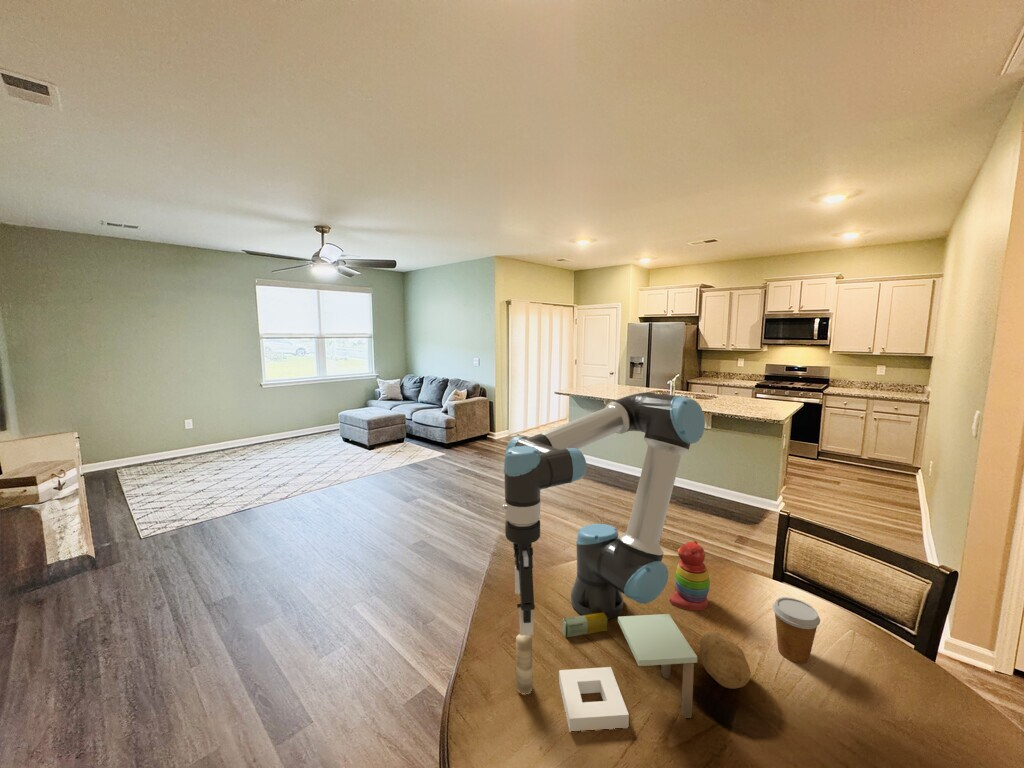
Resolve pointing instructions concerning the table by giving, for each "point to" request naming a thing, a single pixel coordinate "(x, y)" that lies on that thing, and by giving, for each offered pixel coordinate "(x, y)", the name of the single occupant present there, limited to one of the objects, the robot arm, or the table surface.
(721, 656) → the potato
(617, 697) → the socket block
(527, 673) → the peg
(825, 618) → the table surface
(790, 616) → the disposable coffee cup
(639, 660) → the mint green toy table
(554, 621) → the table surface
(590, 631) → the medication box
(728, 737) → the table surface
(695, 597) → the stacking bear
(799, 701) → the table surface
